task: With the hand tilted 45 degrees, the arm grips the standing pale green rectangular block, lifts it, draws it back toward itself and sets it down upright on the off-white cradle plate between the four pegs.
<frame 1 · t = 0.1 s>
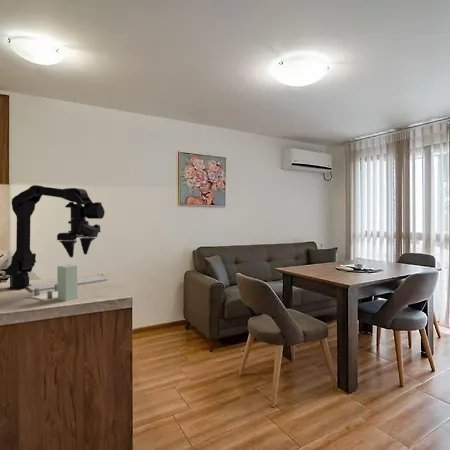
hand: (78, 255, 127), 15 cm above the countertop, tool pointing down, fingers open, 9 cm apart
grey bar clamp: (68, 285, 139), on the countertop
pale green rectangular block: (67, 298, 115), on the countertop
cradle: (53, 295, 119), on the countertop
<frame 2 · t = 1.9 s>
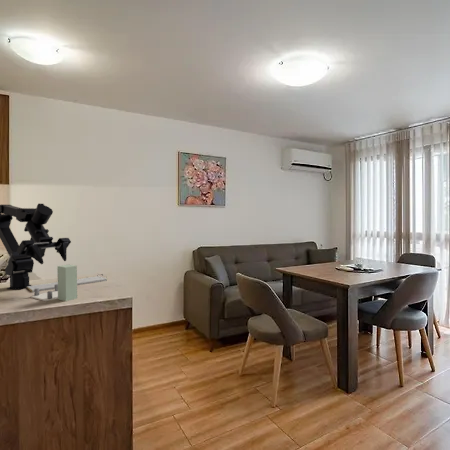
hand: (54, 262, 118), 13 cm above the countertop, tool tilted 45°, fingers open, 9 cm apart
nothing on the countertop moved.
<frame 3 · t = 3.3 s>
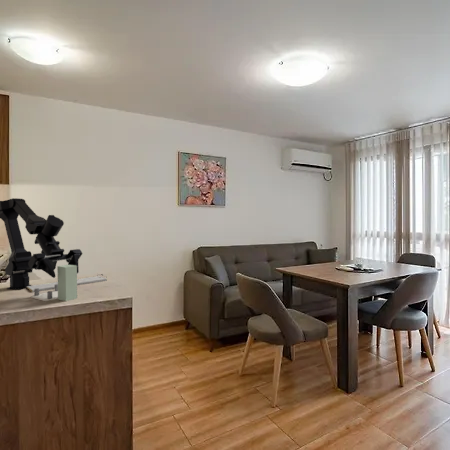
hand: (66, 275, 115), 9 cm above the countertop, tool tilted 45°, fingers open, 9 cm apart
nothing on the countertop moved.
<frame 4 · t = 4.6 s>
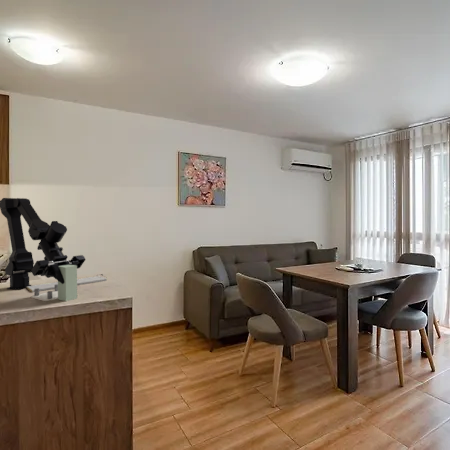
hand: (69, 281, 114), 7 cm above the countertop, tool tilted 45°, fingers closed on pale green rectangular block, 4 cm apart
pale green rectangular block: (67, 298, 115), on the countertop, touching gripper
everything else where it was.
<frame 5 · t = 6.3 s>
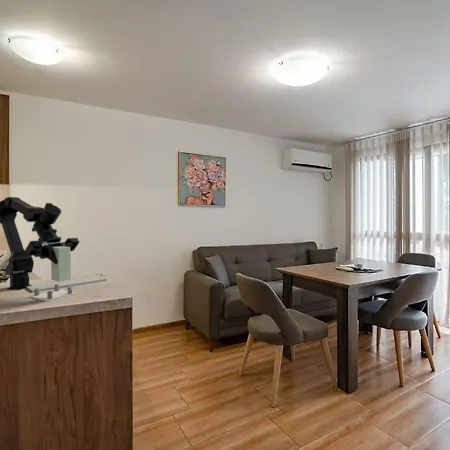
hand: (63, 262, 116), 13 cm above the countertop, tool tilted 45°, fingers closed on pale green rectangular block, 4 cm apart
pale green rectangular block: (61, 279, 117), point 7 cm above the countertop, touching gripper
everything else where it was.
when the fingers open (9 cm above the countertop, at t = 8.3 s): pale green rectangular block drops 2 cm, resting on cradle.
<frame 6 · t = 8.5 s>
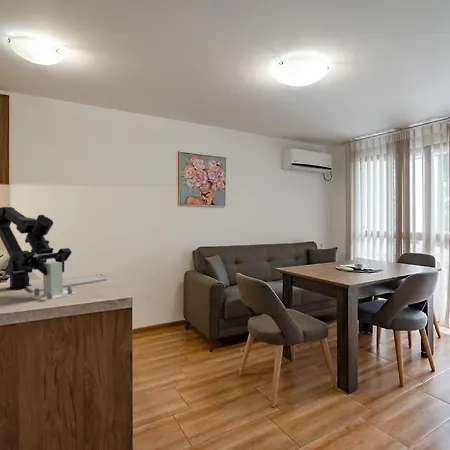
hand: (55, 273, 118), 9 cm above the countertop, tool tilted 45°, fingers open, 6 cm apart
pale green rectangular block: (53, 294, 119), point 1 cm above the countertop, touching cradle
everything else where it was.
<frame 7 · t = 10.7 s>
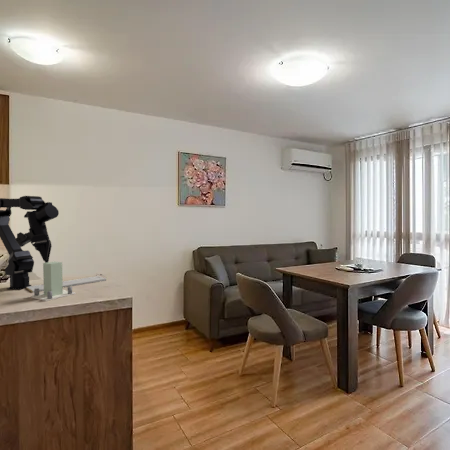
hand: (46, 261, 124), 12 cm above the countertop, tool tilted 15°, fingers open, 9 cm apart
nothing on the countertop moved.
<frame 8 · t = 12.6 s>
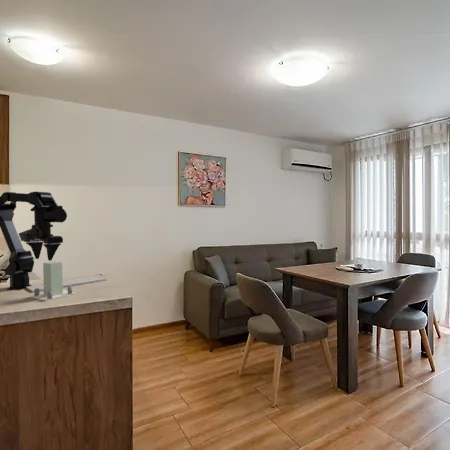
hand: (43, 259, 126), 13 cm above the countertop, tool pointing down, fingers open, 9 cm apart
nothing on the countertop moved.
at the end: pale green rectangular block 0.1 cm off-centre on the cradle, point 0.5 cm above the cradle's base; pale green rectangular block tilted 0°; the gripper is holding nothing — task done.
